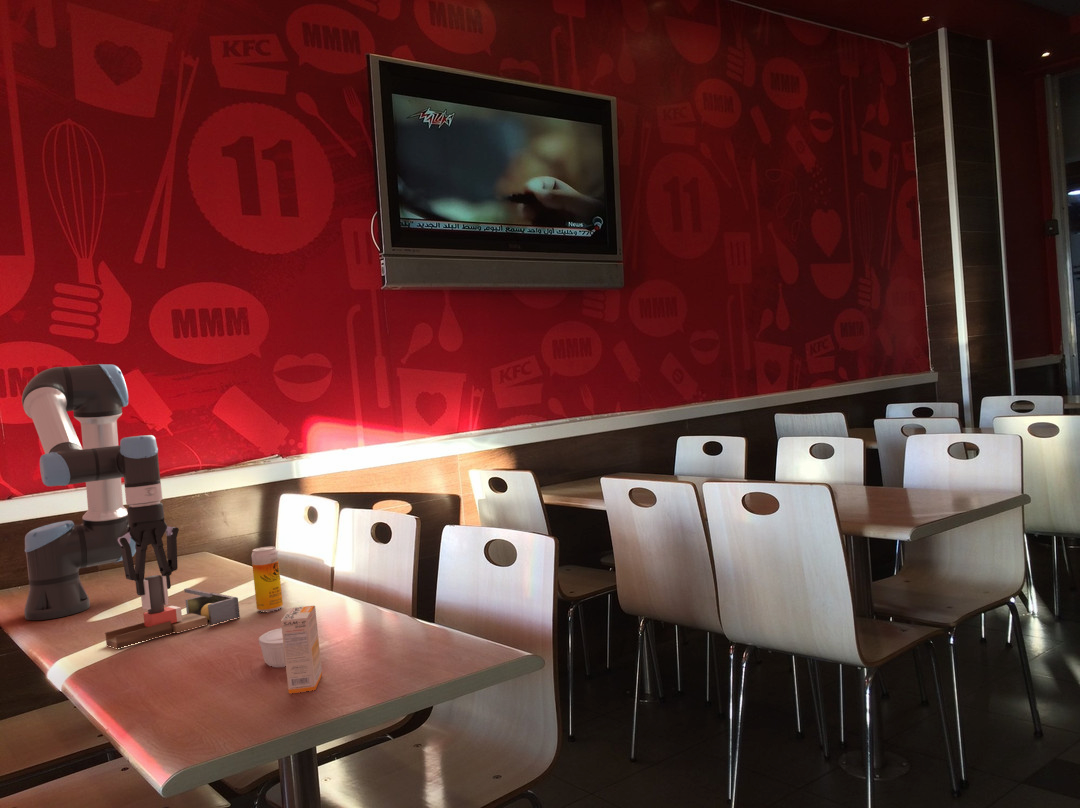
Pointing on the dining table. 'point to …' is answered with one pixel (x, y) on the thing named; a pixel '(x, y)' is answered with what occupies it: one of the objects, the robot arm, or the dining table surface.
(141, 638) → the rail
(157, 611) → the post on red base
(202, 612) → the ball
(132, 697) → the dining table surface
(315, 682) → the supplement box
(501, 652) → the dining table surface
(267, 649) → the ramekin
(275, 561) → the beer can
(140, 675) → the dining table surface
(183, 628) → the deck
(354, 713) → the dining table surface
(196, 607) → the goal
